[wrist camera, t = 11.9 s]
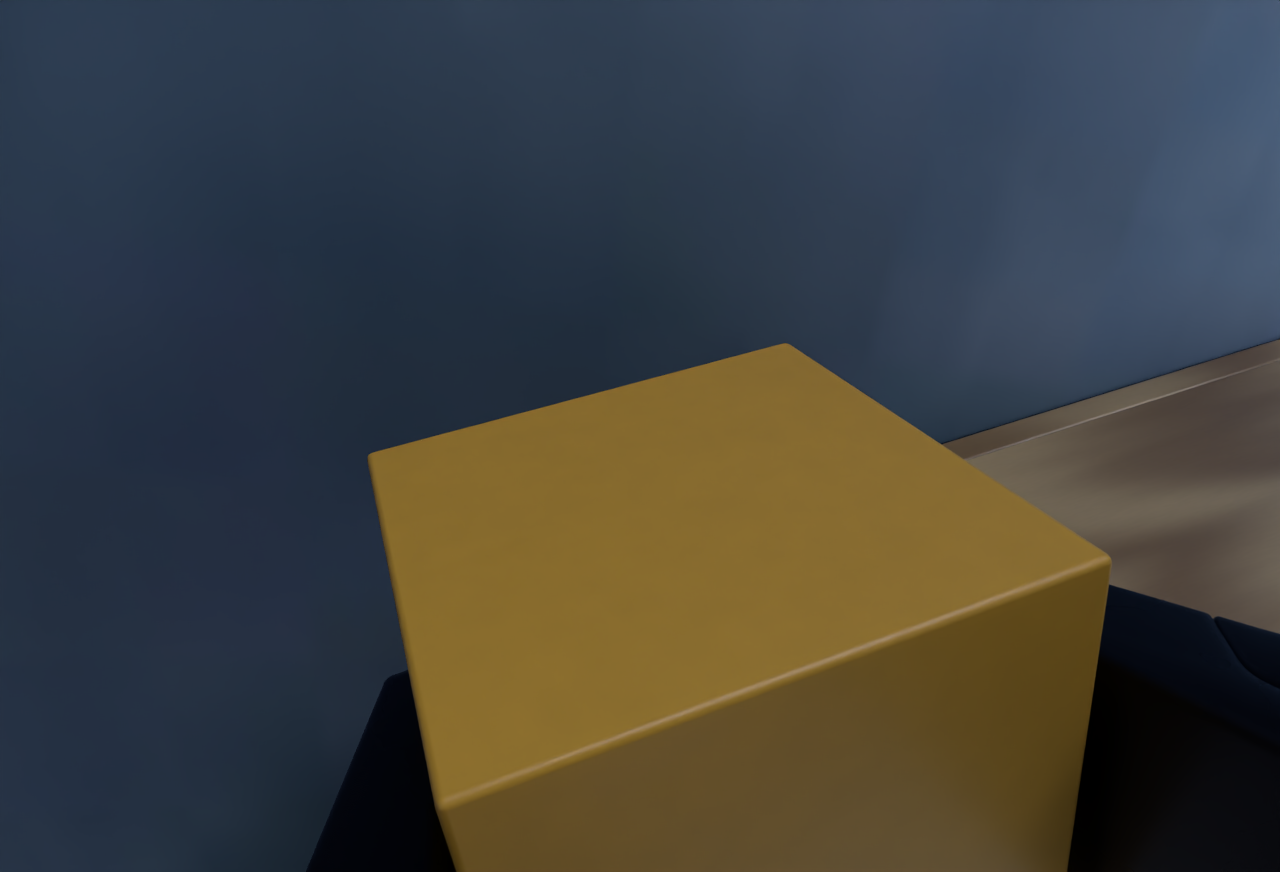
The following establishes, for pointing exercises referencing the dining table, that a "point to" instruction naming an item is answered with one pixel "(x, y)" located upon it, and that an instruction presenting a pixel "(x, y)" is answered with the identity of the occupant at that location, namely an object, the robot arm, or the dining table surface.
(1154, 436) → the cabinet
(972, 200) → the dining table surface
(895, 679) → the block
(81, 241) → the dining table surface
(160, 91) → the dining table surface
